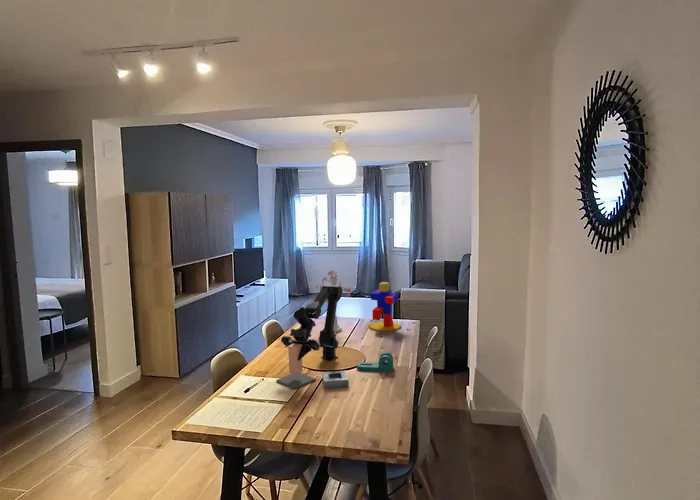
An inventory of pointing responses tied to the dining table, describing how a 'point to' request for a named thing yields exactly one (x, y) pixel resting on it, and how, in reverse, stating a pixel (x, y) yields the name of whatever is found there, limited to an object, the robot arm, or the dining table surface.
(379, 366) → the bracket
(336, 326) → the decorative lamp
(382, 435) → the dining table surface
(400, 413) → the dining table surface
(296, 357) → the peg
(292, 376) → the mat
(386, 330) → the figurine
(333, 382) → the socket block
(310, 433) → the dining table surface
